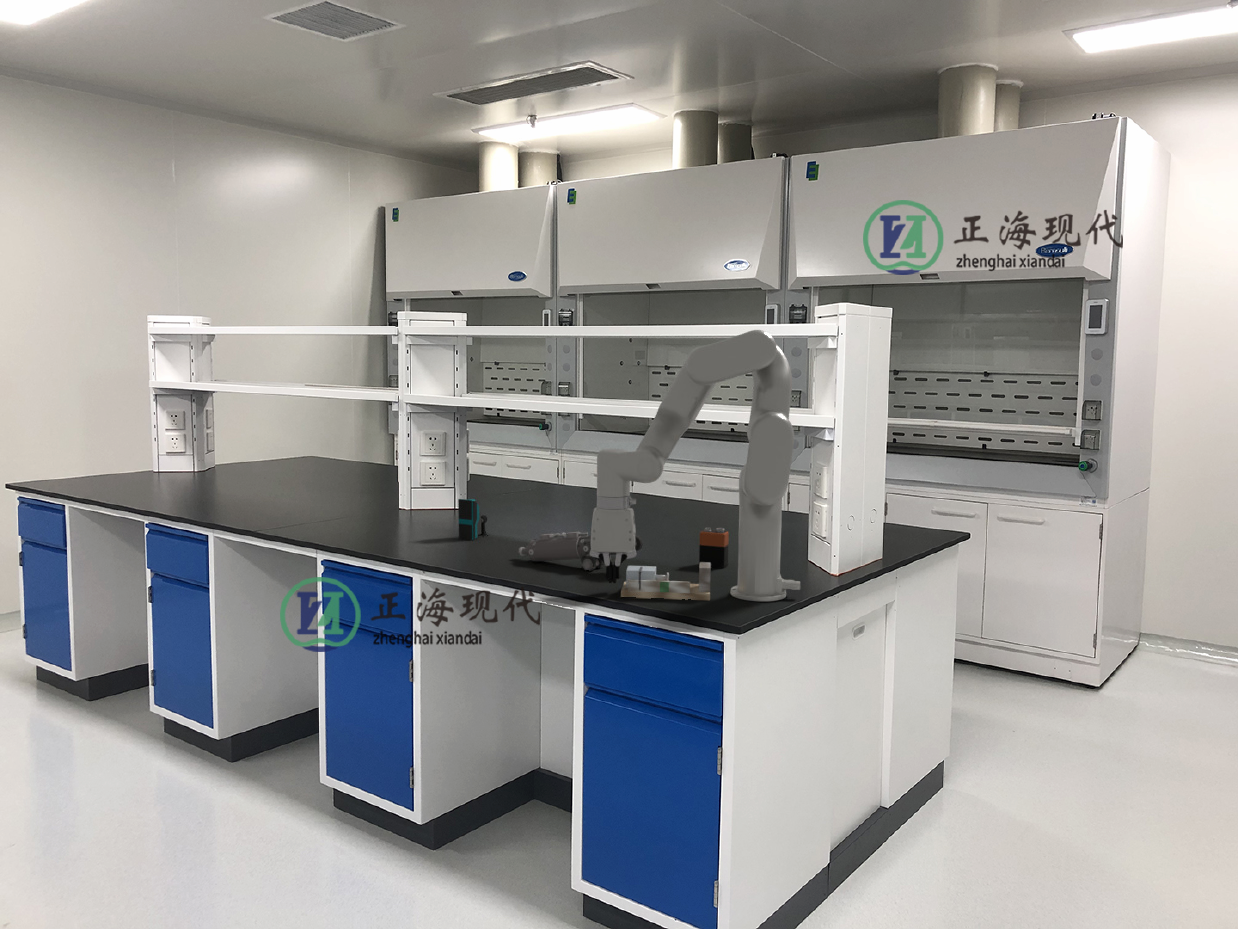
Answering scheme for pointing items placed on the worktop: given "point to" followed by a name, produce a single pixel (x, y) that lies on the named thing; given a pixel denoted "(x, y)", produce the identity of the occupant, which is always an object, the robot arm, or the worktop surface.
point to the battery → (714, 547)
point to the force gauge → (643, 574)
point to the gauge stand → (671, 587)
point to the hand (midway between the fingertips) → (612, 581)
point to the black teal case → (470, 519)
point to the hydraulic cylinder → (566, 549)
